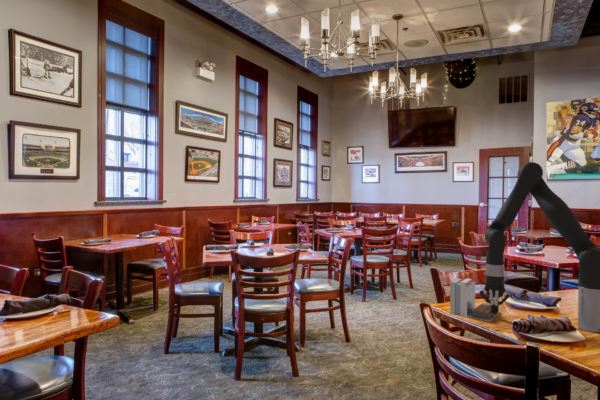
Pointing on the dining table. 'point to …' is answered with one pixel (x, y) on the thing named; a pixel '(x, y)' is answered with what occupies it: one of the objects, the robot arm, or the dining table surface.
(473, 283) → the bookend
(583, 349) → the dining table surface
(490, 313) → the packaged product
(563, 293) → the dining table surface
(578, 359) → the dining table surface
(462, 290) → the book row
